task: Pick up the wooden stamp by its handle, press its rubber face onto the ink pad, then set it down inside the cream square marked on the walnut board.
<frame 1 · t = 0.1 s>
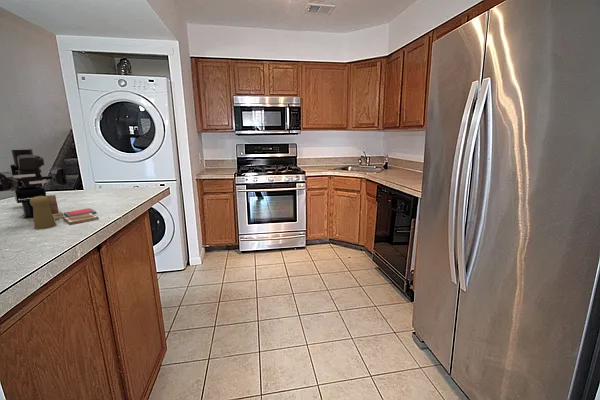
hand: (36, 181, 97), 17 cm above the counter, tool horizontal, fingers open, 9 cm apart
cork: (45, 227, 102), on the counter
wooden stamp: (54, 218, 113), on the counter
stamp board: (81, 220, 110), on the counter
ink pad: (80, 214, 118), on the counter
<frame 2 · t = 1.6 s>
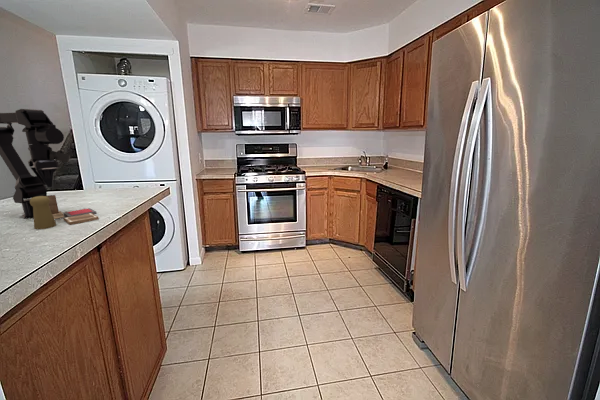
hand: (47, 185, 110), 13 cm above the counter, tool pointing down, fingers open, 9 cm apart
nothing on the counter moved.
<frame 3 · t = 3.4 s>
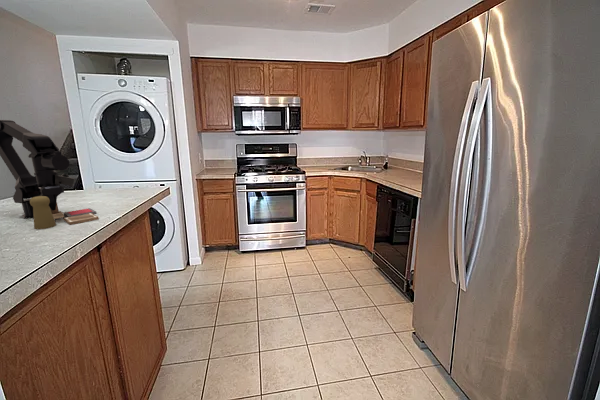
hand: (52, 209, 112), 4 cm above the counter, tool pointing down, fingers closed on wooden stamp, 3 cm apart
wooden stamp: (54, 218, 113), on the counter, touching gripper
everything else where it was.
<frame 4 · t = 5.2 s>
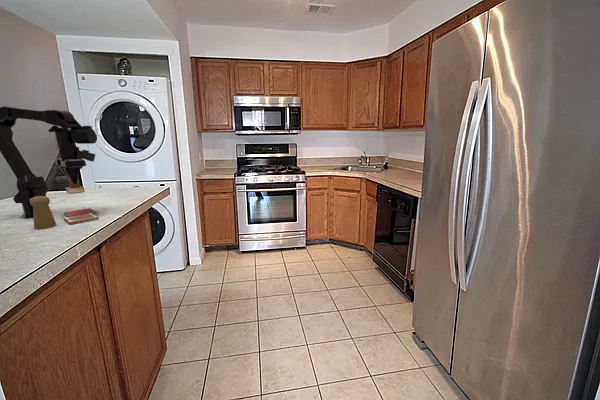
hand: (74, 183, 115), 13 cm above the counter, tool pointing down, fingers closed on wooden stamp, 3 cm apart
wooden stamp: (75, 192, 116), point 9 cm above the counter, touching gripper
everything else where it was.
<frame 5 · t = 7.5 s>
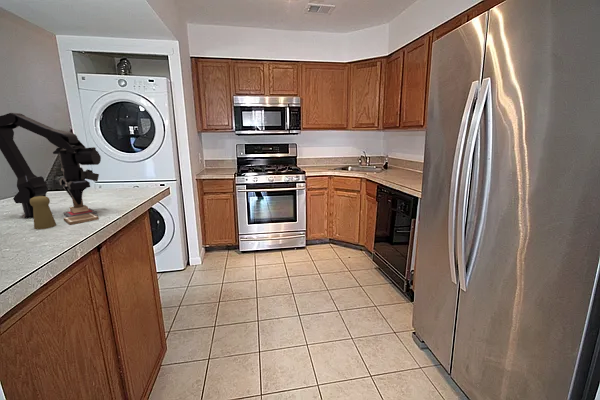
hand: (78, 203, 117), 5 cm above the counter, tool pointing down, fingers closed on wooden stamp, 3 cm apart
wooden stamp: (79, 211, 118), point 1 cm above the counter, touching gripper, ink pad
everything else where it was.
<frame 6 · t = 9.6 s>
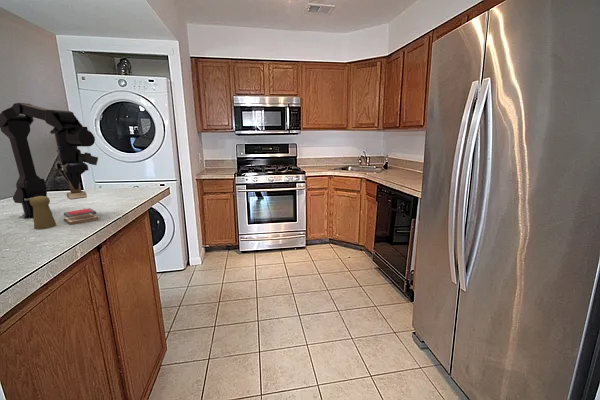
hand: (75, 189, 107), 12 cm above the counter, tool pointing down, fingers closed on wooden stamp, 3 cm apart
wooden stamp: (77, 197, 108), point 9 cm above the counter, touching gripper
everything else where it was.
when the fingers open (5 cm above the counter, at t = 11.6 s): wooden stamp drops 1 cm, resting on stamp board.
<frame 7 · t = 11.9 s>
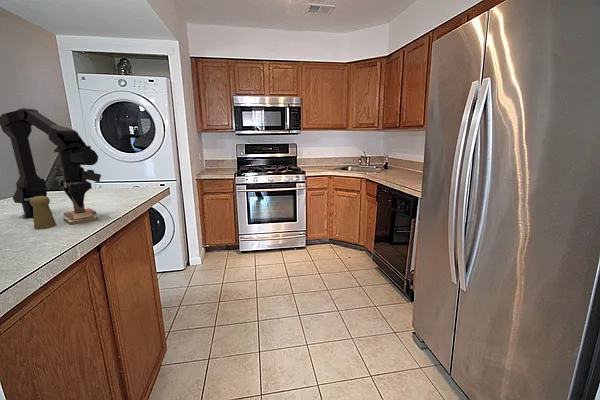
hand: (78, 206, 109), 5 cm above the counter, tool pointing down, fingers open, 6 cm apart
wooden stamp: (81, 217, 110), point 1 cm above the counter, touching stamp board
everything else where it was.
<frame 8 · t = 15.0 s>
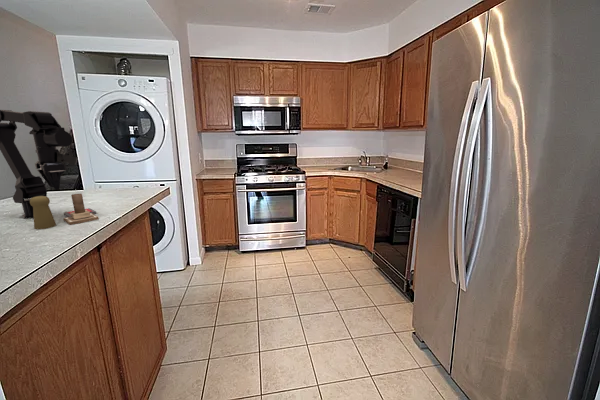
hand: (54, 188, 110), 12 cm above the counter, tool pointing down, fingers open, 9 cm apart
nothing on the counter moved.
at the end: wooden stamp 0.0 cm off-centre on the stamp board, point 1.0 cm above the stamp board's base; wooden stamp tilted 0°; the gripper is holding nothing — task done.
